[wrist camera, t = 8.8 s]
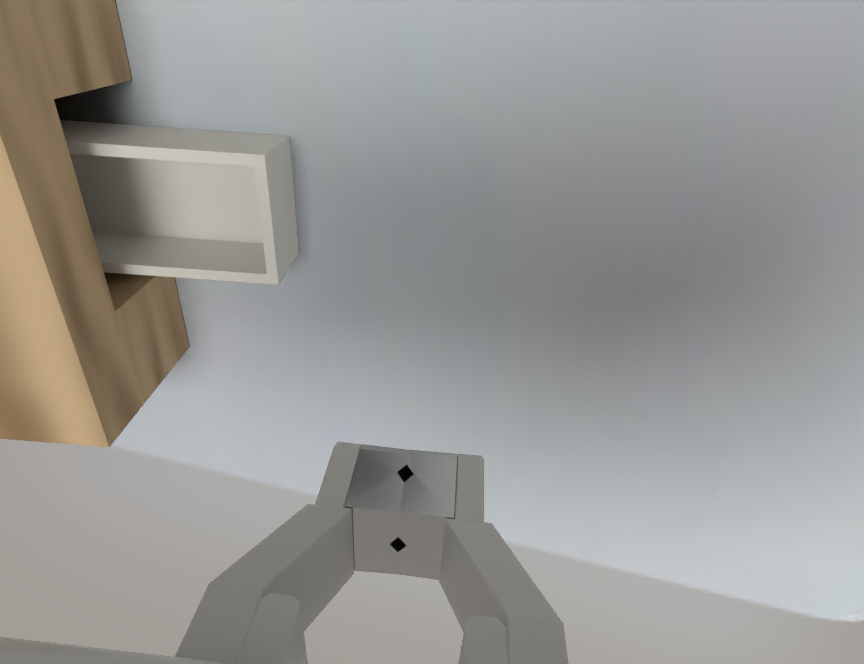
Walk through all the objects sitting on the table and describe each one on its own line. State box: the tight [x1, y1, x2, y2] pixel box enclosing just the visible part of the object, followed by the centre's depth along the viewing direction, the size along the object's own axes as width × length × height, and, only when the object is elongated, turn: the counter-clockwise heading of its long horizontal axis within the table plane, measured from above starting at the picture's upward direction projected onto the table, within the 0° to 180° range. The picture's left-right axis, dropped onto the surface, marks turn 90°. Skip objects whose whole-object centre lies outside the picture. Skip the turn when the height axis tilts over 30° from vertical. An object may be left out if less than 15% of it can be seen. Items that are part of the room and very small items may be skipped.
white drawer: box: [60, 120, 299, 285], centre depth 26 cm, size 14×6×4 cm, turn 87°
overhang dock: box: [0, 0, 189, 447], centre depth 23 cm, size 8×20×8 cm, turn 177°
